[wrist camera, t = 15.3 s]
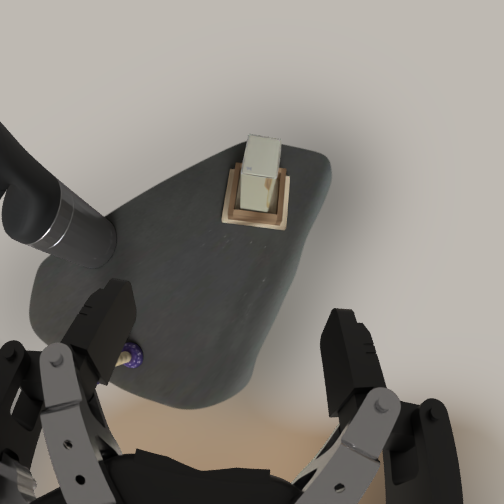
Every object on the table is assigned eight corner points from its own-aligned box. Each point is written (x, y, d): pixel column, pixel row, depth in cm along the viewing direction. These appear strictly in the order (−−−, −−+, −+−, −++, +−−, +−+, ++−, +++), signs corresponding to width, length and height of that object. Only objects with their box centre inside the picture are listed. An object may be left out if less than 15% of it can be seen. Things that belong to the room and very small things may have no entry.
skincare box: (266, 217, 42) (277, 181, 30) (239, 213, 42) (239, 175, 30) (272, 181, 43) (283, 138, 32) (245, 177, 43) (248, 132, 31)
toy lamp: (114, 359, 37) (55, 378, 21) (121, 334, 38) (61, 342, 22) (140, 371, 37) (88, 399, 21) (147, 345, 38) (95, 362, 22)
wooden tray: (222, 222, 43) (220, 213, 39) (230, 173, 45) (229, 161, 41) (284, 230, 43) (288, 222, 39) (288, 180, 45) (292, 169, 41)
